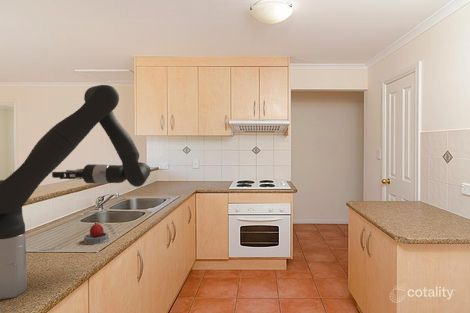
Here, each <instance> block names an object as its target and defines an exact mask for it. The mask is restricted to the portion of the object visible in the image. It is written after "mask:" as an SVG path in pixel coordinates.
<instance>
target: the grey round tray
mask: <svg viewBox="0 0 470 313" xmlns="http://www.w3.org/2000/svg"><path fill="white" fill-rule="evenodd" d="M109 240H110V237H109V232H106V231H104V232H103V235H102V236H101V237H97V238H93V237H91V235H90V233H87V234H86V235H84V236H83V243H84V244H86V245H98V244H105V243H106V241H107V242H108V241H109Z"/></svg>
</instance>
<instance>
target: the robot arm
mask: <svg viewBox="0 0 470 313" xmlns="http://www.w3.org/2000/svg"><path fill="white" fill-rule="evenodd" d="M83 100H84V103H83V104H81V106H80V107H79V108H78V109H77V110H76V111H74V112H73V113H72V114H70V115H68V116H66V117H64V119H62V120H61V121H59V122H57V123H56V124H55V125H54V126H52V127H51V128H50V129H49V130H48V131H47V132H46V133H45V134H44V135H43V136H42V137H41V138H40V139H39V140H38V141H37V143H36V144H35V145H34V147H33V148H32V149H31V151H30V153H29V154H28V155H27V157H26V159H25V160H24V161H23V163H22V164H21V165H20V166H18V168H17V169H16V170H15V171H13V172H12V173H11V174H10V175H9V176H7V177H6V178H5V179H1V180H0V300H5V299H11V298H16V297H18V296H19V295H20V294H23V293H24V292H26V291H27V289H28V284H27V283H28V282H27V281H28V278H27V275H28V274H27V246H26V243H27V242H26V224H25V221H24V216H23V215H24V214H23V206H25V204H26V203H27V201H28V200H29V199H30V197H31V196H32V195H33V194H34V192H35V191H36V189H38V187H40V185H41V183H42V182H43V181H44V180H45V179H46V178H47V177H48V176H49V175H50V174H51V177H52V179H53V178H54V179H55V178H56V179H57V178H58V179H60V180H83V181H84V183H85V184H98V185H99V184H104V185H105V184H121V183H124V182H125V181H127V182H128V183H129V184H130V185H131V186H133V187H136V188H138V187H142V186H144V184H145V183H146V181H147V180H148V178H149V176H150V174H151V167H150V165H148V164H147V163H145V162H139V159H140V152H139V150H138V148H137V146H136V144H135V142H134V140H133V138H132V136H131V135H130V134H129V133H128V131H127V130H125V128H124V127H123V125H122V124H121V123H120V122H119V120H118V119H117V117H116V115H115V114H114V110H116V107H117V106H118V104H119V101H120V96H119V92H118V90H117V89H116V88H115V87H114V86H111V85H109V84H99V85H95V86H91V87H89V88H88V89H86V91H85V93H84V97H83ZM98 124H100V126H101V127H102V129H103V131H104V132H105V133H106V135H107V137H108V138H109V140H110V143H112V145H113V147H114V150H115V151H116V153H117V155H118V157H119V159H120V161H121V164H120V165H119V164H111V165H110V164H96V163H95V164H91V163H89V164H86V165H85V166H84V167H83V168H77V169H67V170H65V171H54V170H56V169H57V167H58V166H59V165H61V163H63V161H65V160H66V158H68V156H70V154H72V152H74V150H75V149H76V148H77V147H78V146H79V144H80V143H81V142H82V141H83V140H84V139H85V138H87V136H88V135H89V133H90V132H91V131H92V130H93V129H94V128H95V127H96V125H98Z"/></svg>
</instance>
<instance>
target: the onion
mask: <svg viewBox="0 0 470 313" xmlns="http://www.w3.org/2000/svg"><path fill="white" fill-rule="evenodd" d="M103 232H105V231H104V227H103V225H101V224H100V223H99V222H97V221H96V222H94V224H93V225H92V226H90V228H89V234H90V235H91V237H93V238H97V237H101V236H102V235H103Z"/></svg>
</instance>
